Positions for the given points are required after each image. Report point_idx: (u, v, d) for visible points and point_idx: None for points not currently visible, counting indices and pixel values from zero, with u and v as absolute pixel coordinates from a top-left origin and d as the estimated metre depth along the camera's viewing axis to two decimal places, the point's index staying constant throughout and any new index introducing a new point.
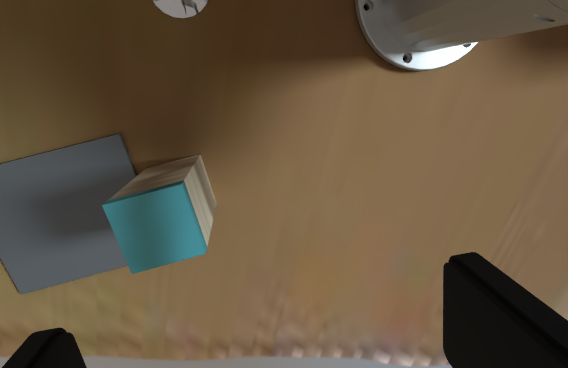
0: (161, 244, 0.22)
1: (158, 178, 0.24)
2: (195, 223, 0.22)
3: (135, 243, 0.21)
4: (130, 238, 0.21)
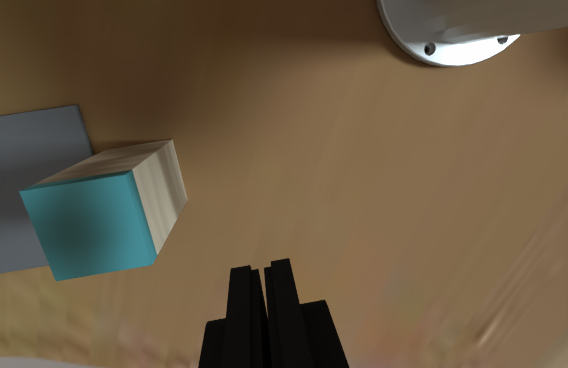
0: (95, 248, 0.17)
1: (107, 163, 0.20)
2: (141, 226, 0.17)
3: (61, 243, 0.17)
4: (55, 237, 0.17)
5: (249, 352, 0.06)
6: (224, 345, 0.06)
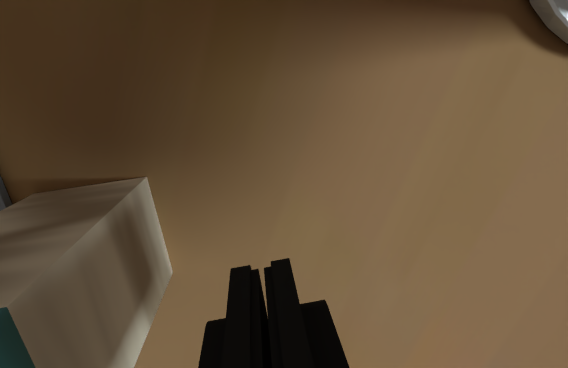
0: None
1: None
2: None
3: None
4: None
5: (249, 352, 0.06)
6: (224, 345, 0.06)
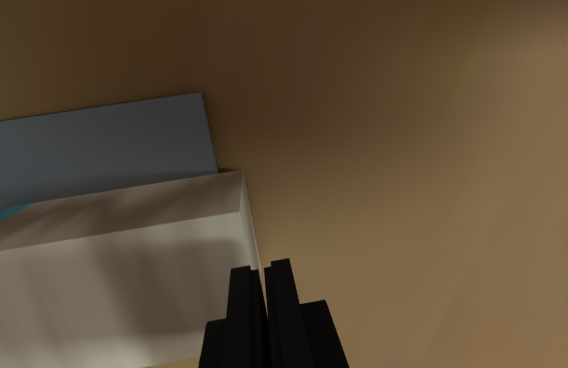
0: None
1: (69, 215, 0.12)
2: None
3: None
4: None
5: (249, 352, 0.06)
6: (224, 345, 0.06)
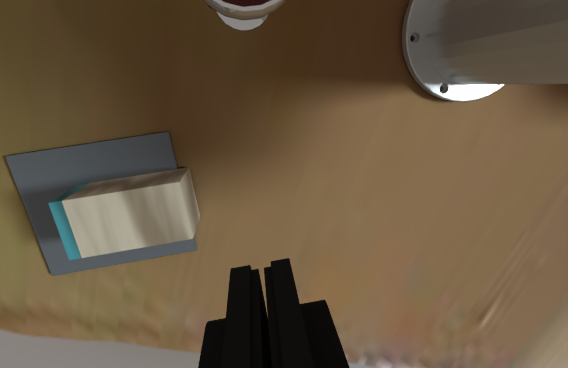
0: None
1: (110, 186, 0.28)
2: (61, 235, 0.26)
3: None
4: None
5: (249, 352, 0.06)
6: (224, 345, 0.06)
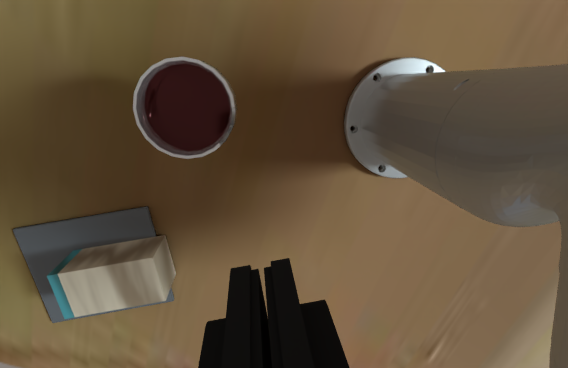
0: None
1: (98, 256, 0.34)
2: (57, 300, 0.32)
3: None
4: None
5: (249, 352, 0.06)
6: (224, 345, 0.06)
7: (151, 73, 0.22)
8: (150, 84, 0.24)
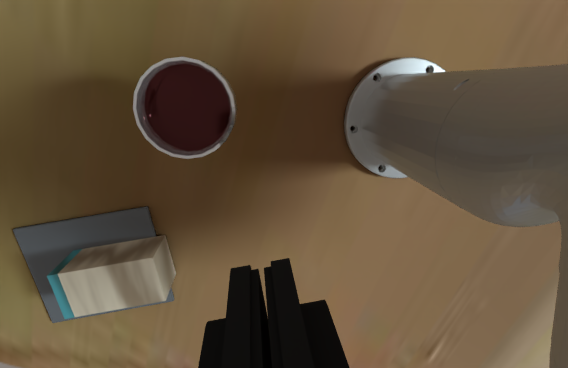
0: None
1: (98, 256, 0.34)
2: (57, 300, 0.32)
3: None
4: None
5: (249, 352, 0.06)
6: (224, 345, 0.06)
7: (151, 73, 0.22)
8: (150, 84, 0.24)
